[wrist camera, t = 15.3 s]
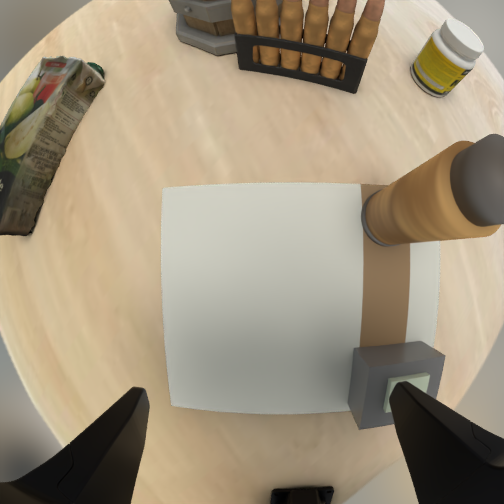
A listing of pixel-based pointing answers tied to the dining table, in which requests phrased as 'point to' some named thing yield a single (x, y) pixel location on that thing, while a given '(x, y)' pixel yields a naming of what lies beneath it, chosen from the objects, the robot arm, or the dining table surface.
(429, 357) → the grey cube-like block
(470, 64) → the supplement bottle
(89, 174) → the dining table surface
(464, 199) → the tan cylinder
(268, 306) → the floor panel
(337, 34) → the ammunition clip
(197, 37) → the tankard
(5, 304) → the dining table surface
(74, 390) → the dining table surface
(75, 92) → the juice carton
